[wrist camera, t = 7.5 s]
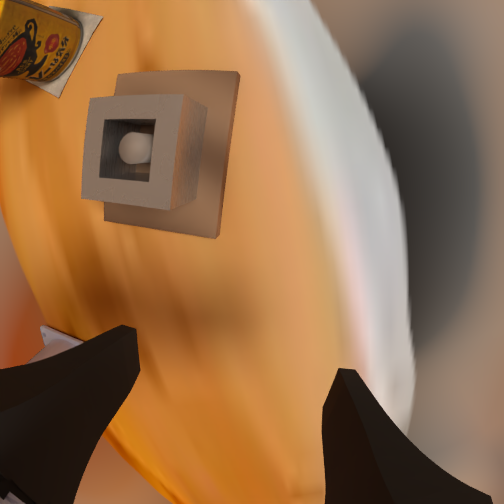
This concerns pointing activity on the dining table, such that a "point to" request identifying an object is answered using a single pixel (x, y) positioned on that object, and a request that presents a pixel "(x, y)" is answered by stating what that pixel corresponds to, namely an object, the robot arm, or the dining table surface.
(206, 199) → the block
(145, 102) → the block with square hole
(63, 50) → the condiment
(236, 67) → the dining table surface
